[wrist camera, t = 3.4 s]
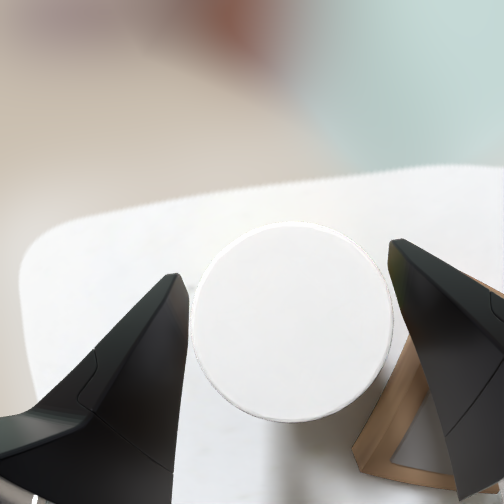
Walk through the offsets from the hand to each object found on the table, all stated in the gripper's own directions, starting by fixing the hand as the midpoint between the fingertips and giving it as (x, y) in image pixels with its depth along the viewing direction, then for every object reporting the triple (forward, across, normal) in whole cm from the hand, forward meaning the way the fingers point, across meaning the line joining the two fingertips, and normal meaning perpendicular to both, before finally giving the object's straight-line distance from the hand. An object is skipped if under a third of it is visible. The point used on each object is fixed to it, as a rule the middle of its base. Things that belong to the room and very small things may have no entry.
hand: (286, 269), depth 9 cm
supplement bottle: (+4, 0, +6) cm, 7 cm away
